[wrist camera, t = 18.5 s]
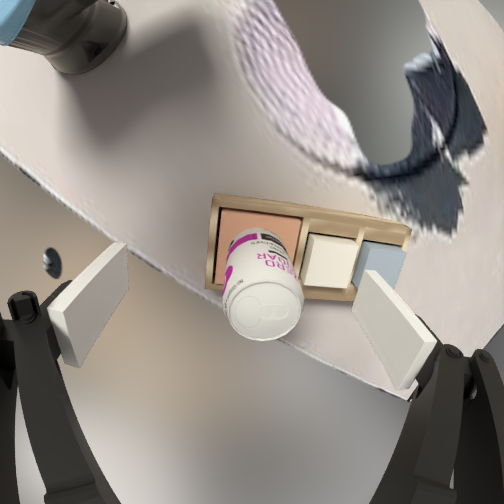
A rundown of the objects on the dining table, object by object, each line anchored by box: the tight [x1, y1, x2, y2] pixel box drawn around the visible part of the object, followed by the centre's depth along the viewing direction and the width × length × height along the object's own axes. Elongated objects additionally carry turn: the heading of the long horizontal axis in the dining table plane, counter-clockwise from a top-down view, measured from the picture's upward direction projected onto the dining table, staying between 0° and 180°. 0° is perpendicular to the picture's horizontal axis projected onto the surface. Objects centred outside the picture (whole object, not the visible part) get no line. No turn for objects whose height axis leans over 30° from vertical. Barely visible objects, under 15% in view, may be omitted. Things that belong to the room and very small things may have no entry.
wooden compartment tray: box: [205, 194, 412, 301], centre depth 43 cm, size 14×32×4 cm, turn 82°
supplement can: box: [222, 227, 304, 341], centre depth 33 cm, size 8×8×15 cm
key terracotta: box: [215, 207, 301, 284], centre depth 42 cm, size 11×11×4 cm
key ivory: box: [300, 234, 359, 288], centre depth 42 cm, size 7×7×4 cm
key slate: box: [351, 241, 406, 290], centre depth 42 cm, size 7×7×4 cm
